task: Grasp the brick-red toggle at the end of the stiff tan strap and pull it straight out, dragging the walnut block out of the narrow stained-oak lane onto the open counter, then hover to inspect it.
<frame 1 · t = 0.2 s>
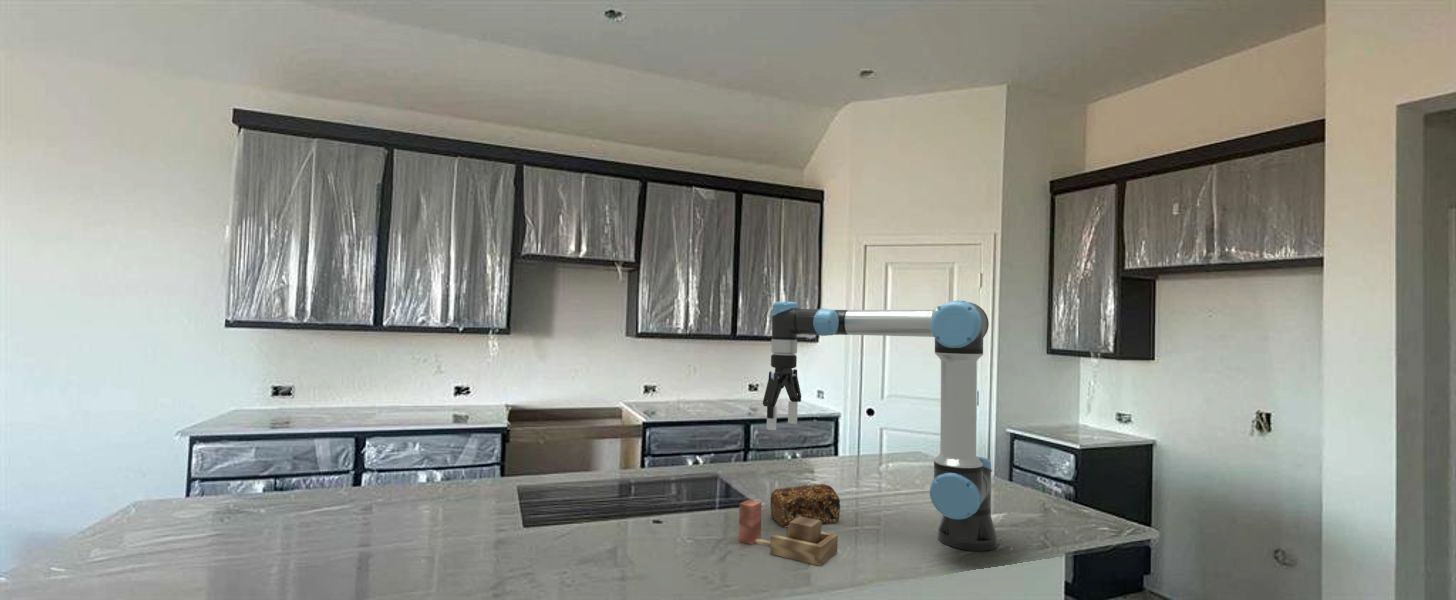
hand: (782, 426, 187), 28 cm above the counter, fingers open, 13 cm apart
bread: (804, 521, 187), on the counter
tethered block: (804, 553, 161), on the counter
oak lane: (801, 552, 162), on the counter
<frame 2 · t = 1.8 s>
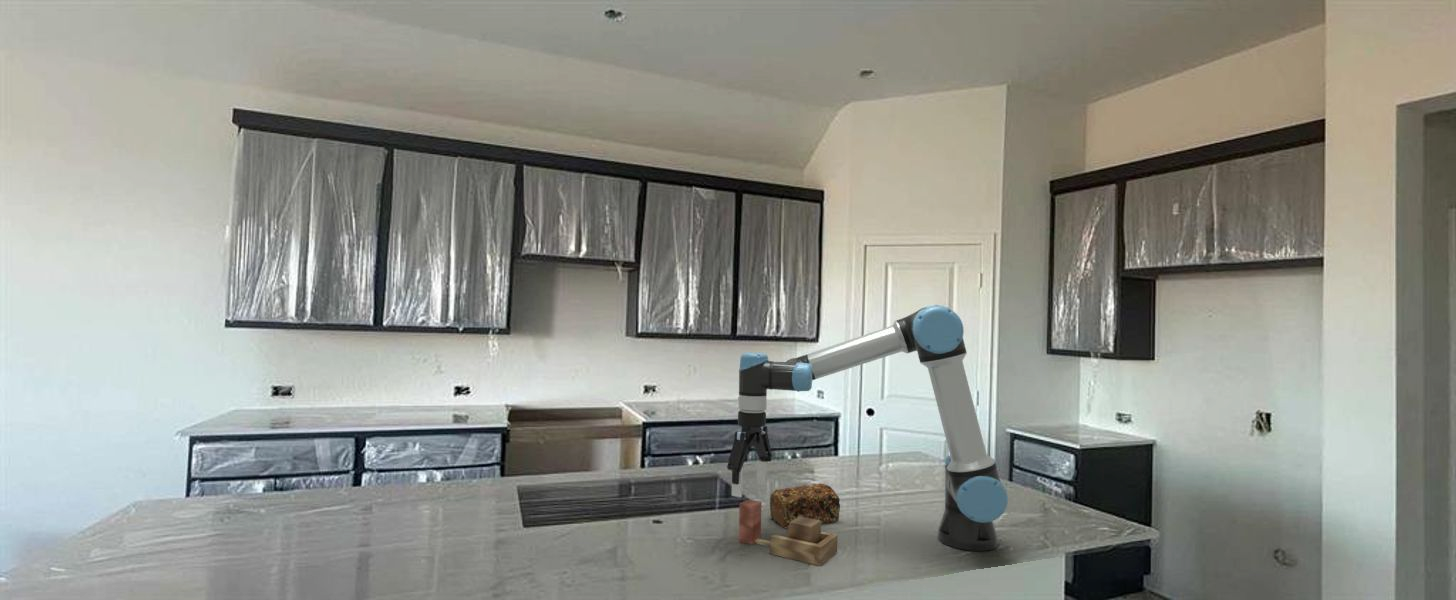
hand: (749, 490, 170), 13 cm above the counter, fingers open, 13 cm apart
nothing on the counter moved.
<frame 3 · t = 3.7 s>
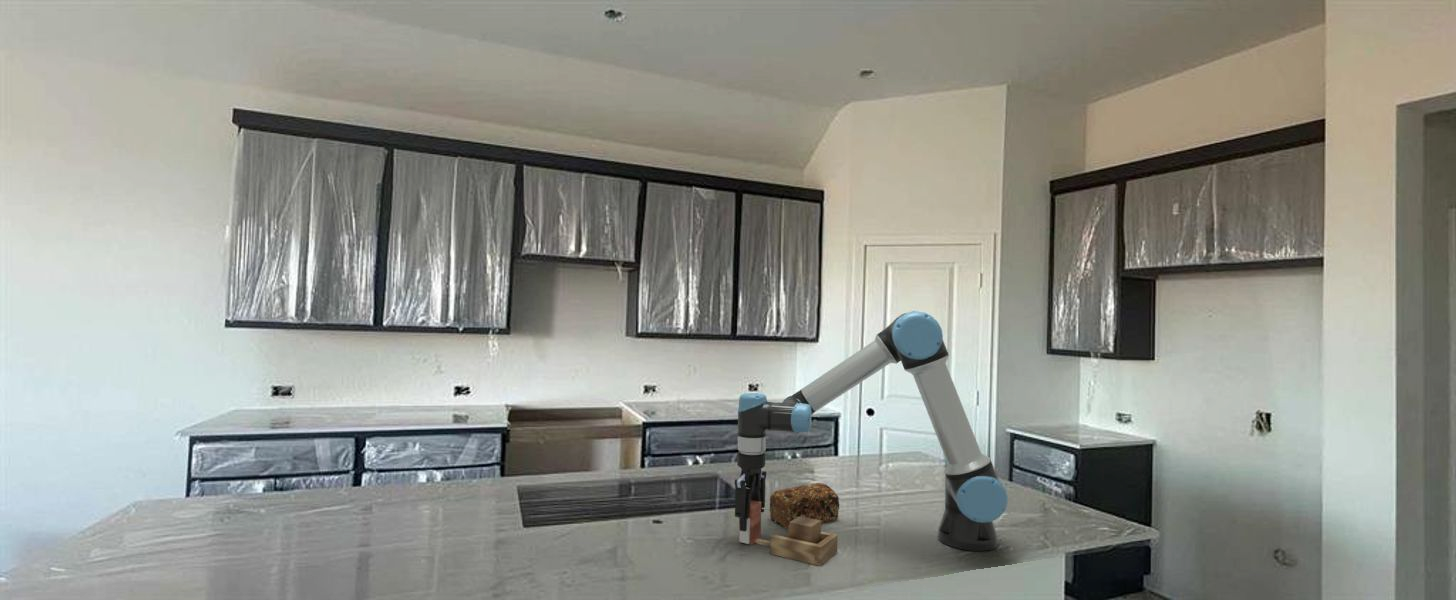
hand: (749, 539, 170), 0 cm above the counter, fingers closed on tethered block, 5 cm apart
tethered block: (804, 553, 161), on the counter, touching gripper
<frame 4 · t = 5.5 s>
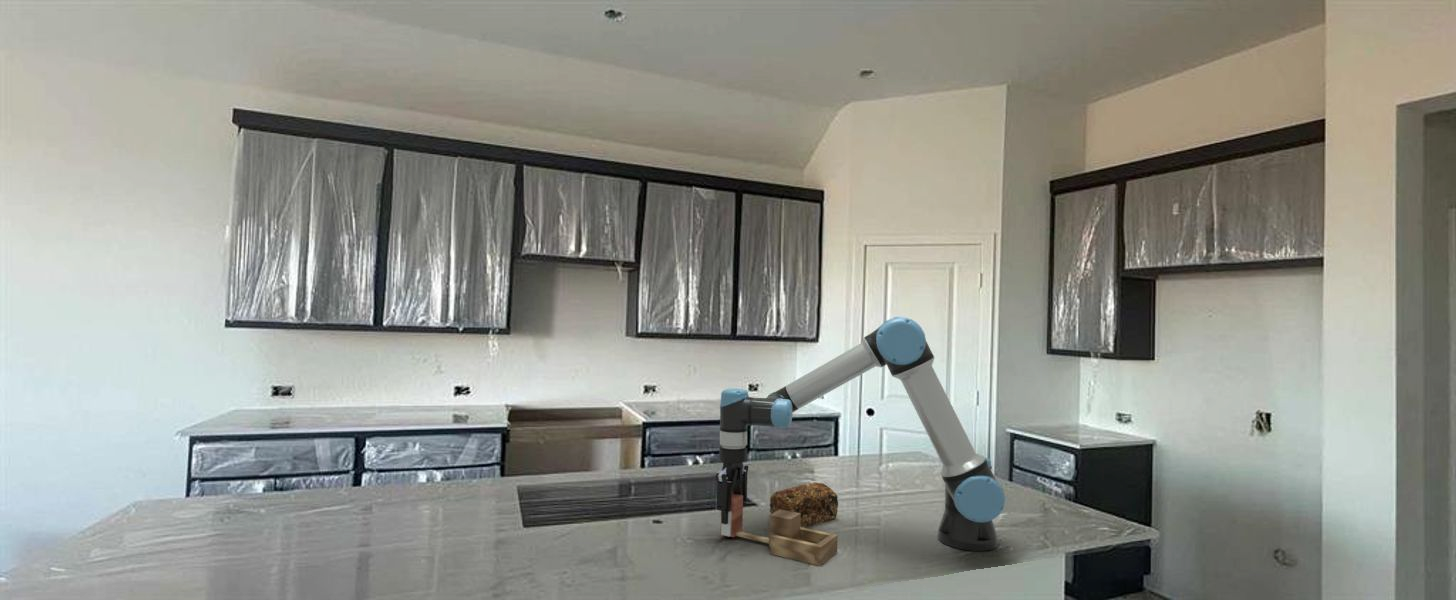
hand: (731, 532, 172), 1 cm above the counter, fingers closed on tethered block, 5 cm apart
tethered block: (784, 545, 164), point 1 cm above the counter, touching gripper
when the fingers open (1 cm above the counter, at t = 7.7 s): tethered block stays where it is, on the counter.
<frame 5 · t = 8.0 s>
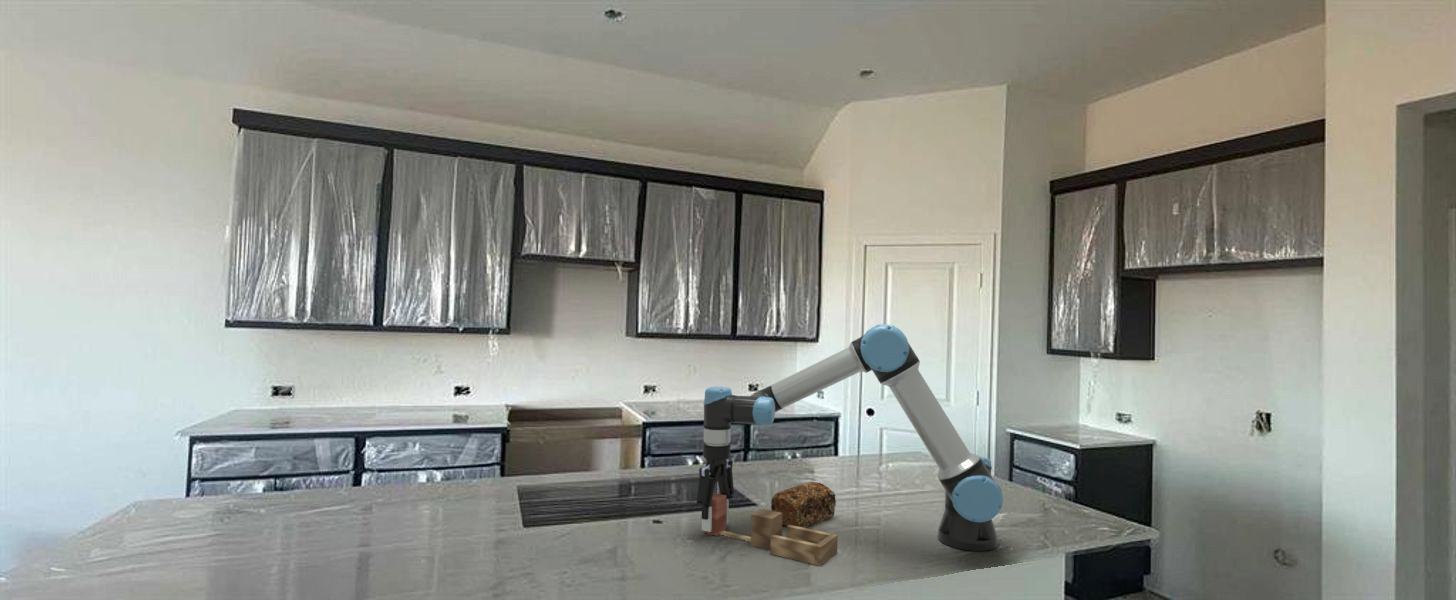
hand: (715, 526, 175), 2 cm above the counter, fingers open, 8 cm apart
tethered block: (766, 544, 167), on the counter
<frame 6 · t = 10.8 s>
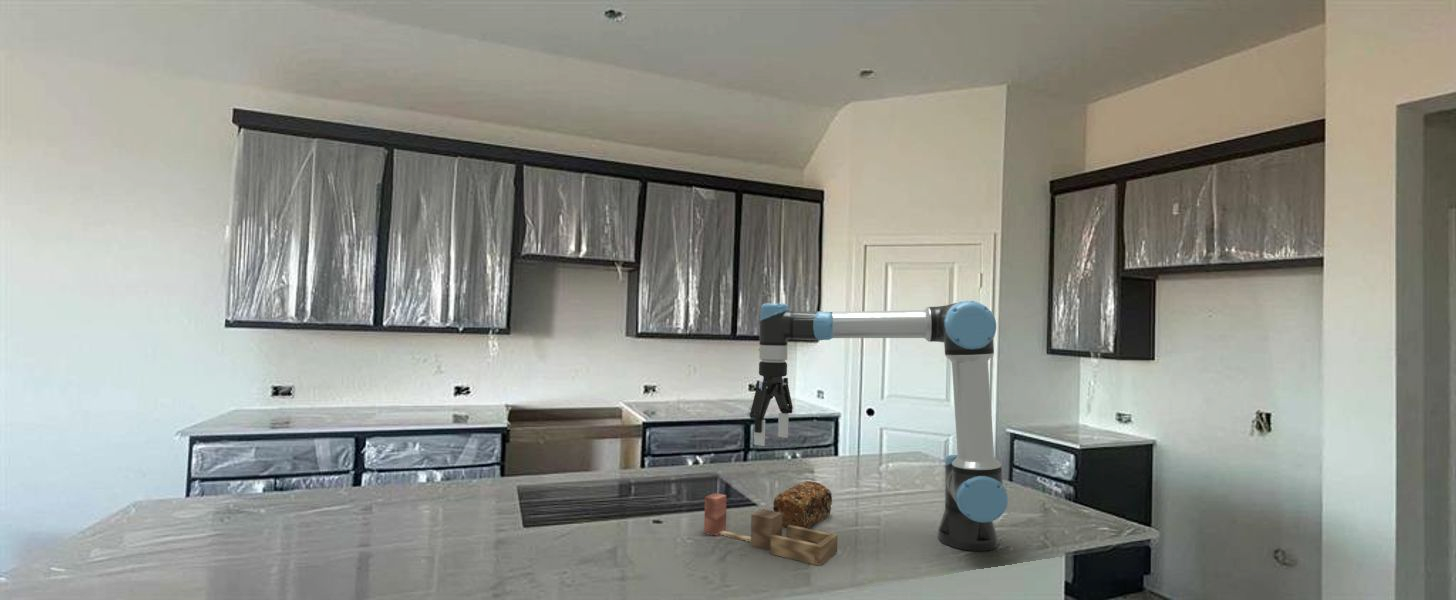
hand: (771, 441, 169), 27 cm above the counter, fingers open, 13 cm apart
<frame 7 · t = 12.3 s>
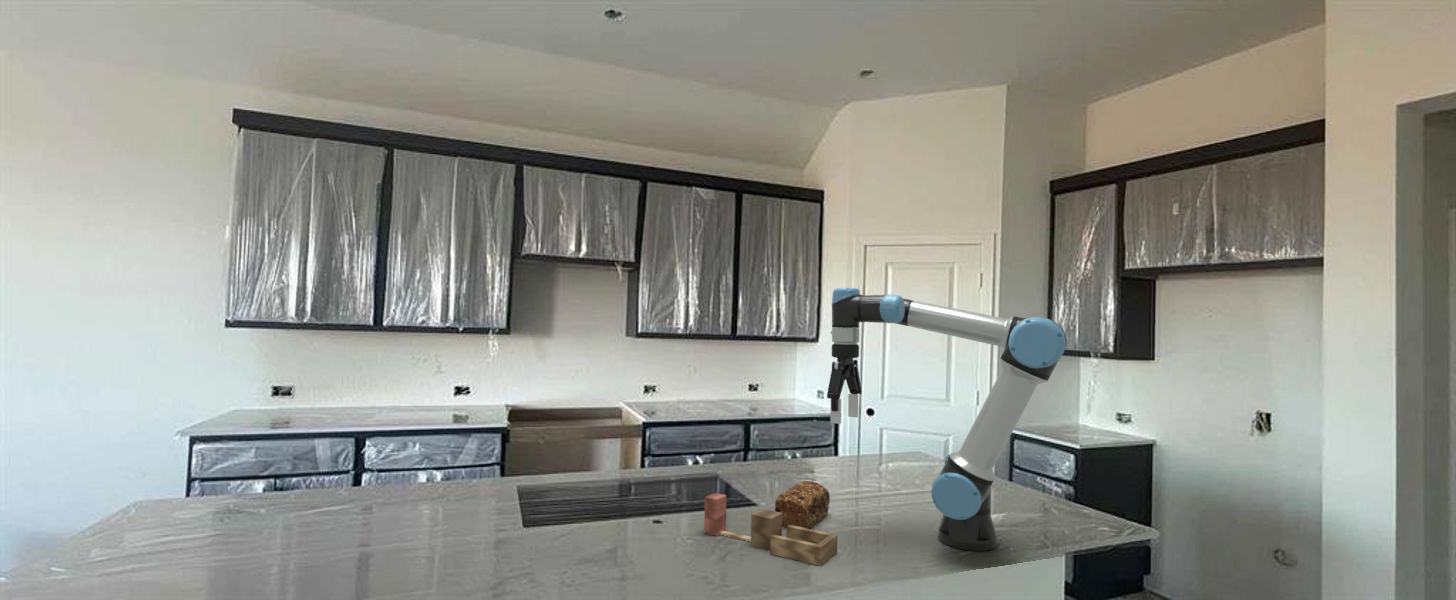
hand: (844, 420, 176), 32 cm above the counter, fingers open, 13 cm apart
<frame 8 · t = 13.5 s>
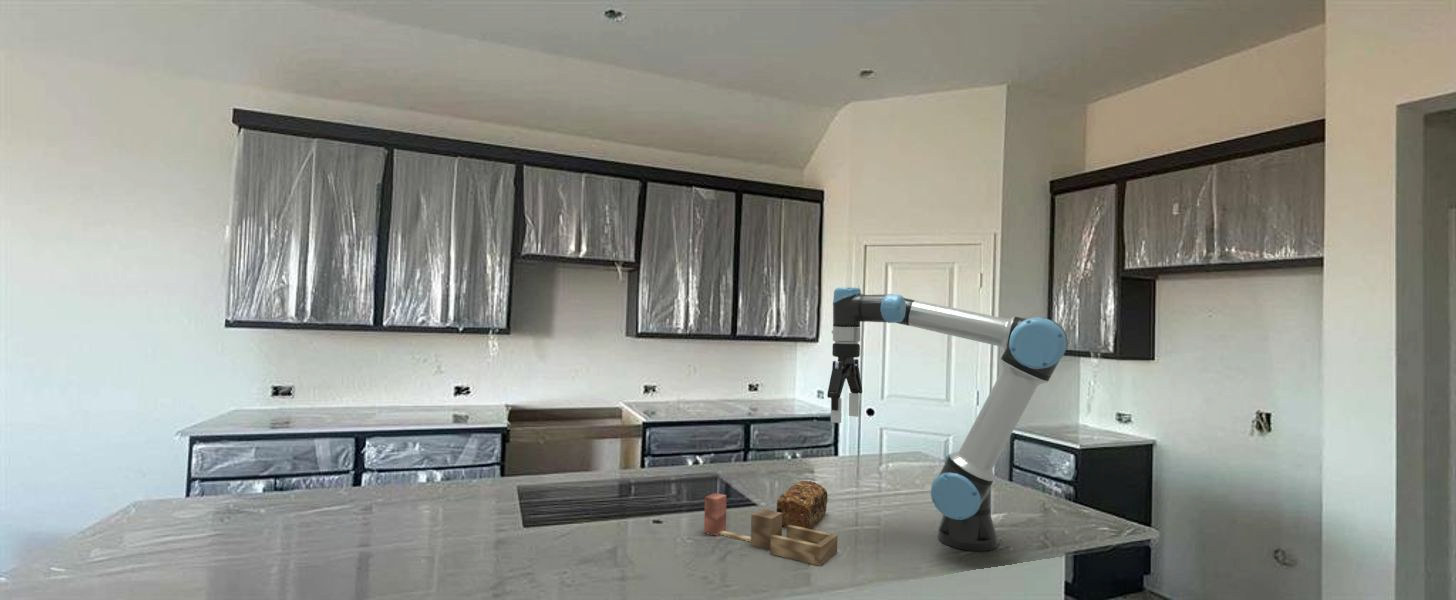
hand: (845, 419, 177), 32 cm above the counter, fingers open, 13 cm apart
at the end: tethered block inside the target area (11.8 cm from its centre), on the counter; tethered block tilted 0°; the gripper is holding nothing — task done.
